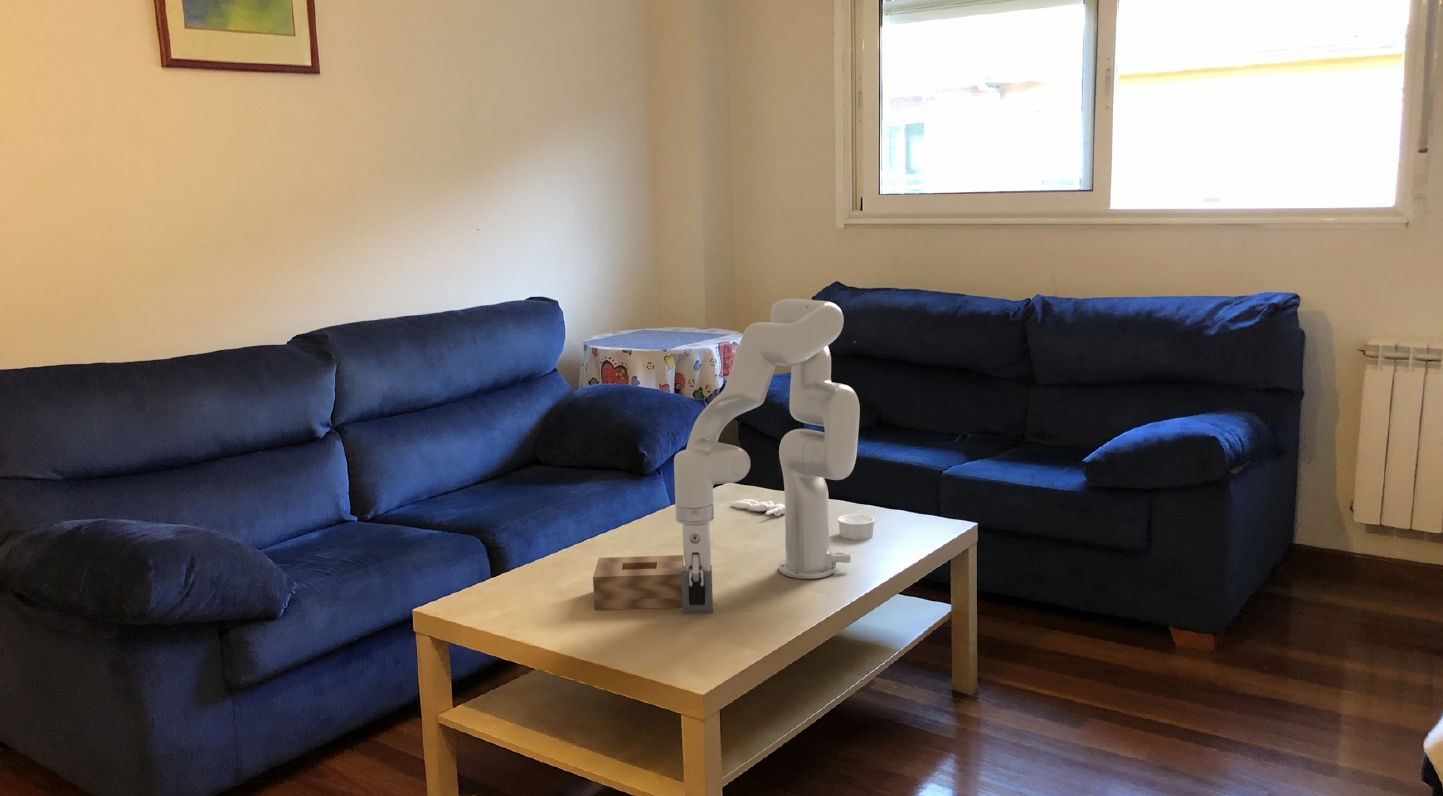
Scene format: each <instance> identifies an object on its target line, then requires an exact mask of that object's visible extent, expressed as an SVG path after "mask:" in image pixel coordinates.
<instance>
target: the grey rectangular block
mask: <svg viewBox="0 0 1443 796" xmlns="http://www.w3.org/2000/svg"><path fill="white" fill-rule="evenodd" d="M691 570H693V568H691ZM699 570H701V568H699ZM681 574H682V601H683V607H682V614H683V615H686V614H688V615H689V614H690V615H693V614H692V613H695V614H713V613H714V601H713V600H714V599H713V596H714V595H713V566H712V564H710V571H709V572H707V571H704V570H703V585H705V605H689V587H688V586H689V585H690V582H689V573H688V572H687V571H686V567H685V565H684V566H682V569H681ZM692 576H693V574H692ZM699 576H701V574H699Z"/></svg>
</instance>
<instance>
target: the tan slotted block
mask: <svg viewBox="0 0 1443 796" xmlns="http://www.w3.org/2000/svg"><path fill="white" fill-rule="evenodd" d="M596 562H597V563H596V565H595V570H594V572H593V575H592V582H593V583H592V585H593V586H592V587H593V603H594V605H593V606H594V607H593V608H594V611H605V610H608V611H609V610H634V609H635V610H639V609H640V610H641V609H665V608H667V609H668V608H669V609H671V608H672V609H673V608H683V601H682V574H681V569H682V566H685V559H684V554H681V555H678V554H677V555H650V556H649V555H648V556H644V555H643V556H616V557H614V556H613V557H598V559H597V561H596Z"/></svg>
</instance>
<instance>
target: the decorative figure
mask: <svg viewBox="0 0 1443 796" xmlns="http://www.w3.org/2000/svg"><path fill="white" fill-rule="evenodd" d="M730 506H731V507H733V508H736V509H739V510H740V509H741V510H749V511H753V512H764V511H766V512H765V515H766V516H770V515H772V514H774V516H775V517H777V516H778V517H780V516H784V515H785V504H783V503H776V504H774V502H773V501H772V500H767V501H759V502H758V500H755V499H750V498H749V499H748V498H744V499H739V500H737V501H733V502H731V503H730ZM781 514H782V515H781ZM783 514H784V515H783Z"/></svg>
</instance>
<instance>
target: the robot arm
mask: <svg viewBox="0 0 1443 796" xmlns="http://www.w3.org/2000/svg"><path fill="white" fill-rule="evenodd" d="M769 315H770V322H767V321H760V322H754V323H751V324H749V325H748V326H747V327H746V329H744V332H743V333H742V336H741V338H740V339H741V340H740V342H739V344H738V347H737V351H736V354H735V356H734V360H733V362H732V364H731V369H730V372H729V374H728V377H727V380H726V383H725V386H724V387H723V390H722V391H721V392H720V393H719V394H717V396H715V398H713V399H712V400H711V402H709V403H708V404H707V406H706V407H704V408H703V410H702V411H701V412H700V413H699V415H698V417H697V418H696V420H695V421H694V424H693V426H692V429H691V431H690V434H689V437H688V441H687V444H686V448H685V449H683V450H680V451H678V452H677V453H676V454H675V455H674V458H673V467H674V468H673V472H674V473H673V474H674V476H673V477H674V497H675V498H674V499H675V502H674V504H675V521H676V522H677V523H679V524H681V525H682V526H681V527H682V530H681V531H682V546H683V548H682V549H683V555H684V566H685V567H686V571H687V572H688V573H689V582H690V585H689V586H688V587H689V605H705V585H703V570H704V571H707V572H709V571H710V565H711V533H710V523H711V522H713V521H714V520H715V514H714V510H715V509H714V485H720V484H733V483H737V482H739V481H741V480H742V479H744V478H745V477H746V476H747V475H748V473H749V471H750V468H751V458H750V456H749V454H748V453H747V451H746V450H745V449H743V448H741V447H740V446H736V445H735V444H734V445H732V444H729V443H728V444H727V443H723V442H719V438H720V435H721V433H722V431H723V430H724V428H725V427H726V426H727V425H728V424H729V423H730V422H731V421H732V420H733V419H734V418H736V417H738V416H740V415H742V414H744V413H746V412H748V411H752V410H753V409H756V408H758V407H760V406H762V405H763V404H764V402H765V400H766V397H767V393H768V392H769V391H768V390H769V388H770V385H771V381H772V378H773V375H774V373H775V370H776V367H777V366H782V367H783V366H785V367H791V370H790V385H789V388H790V389H789V412H790V415H791V417H792V418H793V419H794V420H795V421H798V422H800V423H804V424H809V425H815V426H820V427H824V432H823V431H819V430H814V429H808V428H797V429H793V430H790V431H789V432H787V433H786V434H784V436H783V437H782V438H781V440H780V444H779V448H778V449H779V450H778V455H779V456H778V457H779V462H780V466H781V471H782V476H783V485H784V487H783V488H784V506H785V514H784V523H785V524H784V525H785V527H784V528H785V533H784V534H785V559H784V560H782V561H781V562H779V564H778V570H779V572H780V573H781V574H782V575H784V576H787V577H790V578H794V579H798V580H799V579H801V580H813V579H814V580H815V579H821V578H826V577H829V576H831V575H833V574H834V573H836V571H837V563H842V564H845V563H851V554H850V553H844V551H833V550H831V548H830V543H829V542H830V535H829V534H830V533H829V531H830V530H829V529H830V528H829V527H830V525H829V524H830V523H829V502H830V501H829V490H828V485H827V483H826V480H834V481H841V480H844V479H846V478H848V477H849V476H850V475H851V473H852V472H853V470H854V467H855V464H856V460H857V453H858V444H859V443H858V441H859V430H860V429H859V428H860V418H861V417H860V411H861V410H860V409H861V408H860V401H859V397H858V395H857V393H856V391H855V390H854V389H853V388H852V387H850V386H849V385H847V384H843V383H839V382H838V383H837V382H832V377H831V375H832V356H831V352H830V348H829V345H830V344H832V343H833V342H834V341H835V340H837V338H838V337H839V336H840V334H841V332H842V330H843V328H844V323H845V322H844V319H845V318H844V314H843V312H842V310H841V308H840V307H839V306H838V305H837V304H836V303H834V302H832V301H825V300H816V299H815V300H814V299H806V298H805V299H801V298H785V299H780V300H778V301H776V302H775V303H774V304H773V305H772V307H771V309H770V313H769ZM825 479H826V480H825ZM691 568H693V570H691ZM699 568H701V570H699ZM692 574H693V576H692ZM699 574H701V576H699Z"/></svg>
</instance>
